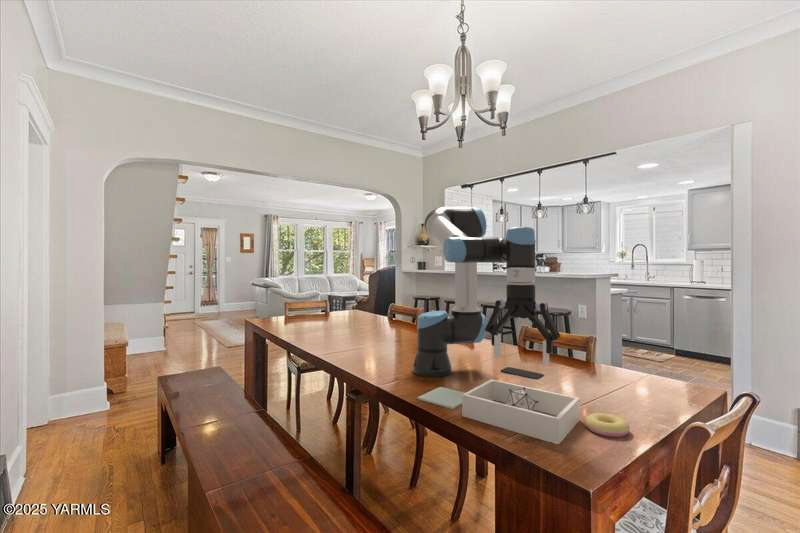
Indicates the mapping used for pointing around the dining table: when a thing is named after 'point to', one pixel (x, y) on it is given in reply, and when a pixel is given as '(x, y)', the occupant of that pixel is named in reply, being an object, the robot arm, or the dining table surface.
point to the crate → (523, 410)
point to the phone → (522, 373)
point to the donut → (607, 425)
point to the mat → (443, 397)
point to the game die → (521, 399)
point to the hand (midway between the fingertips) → (520, 361)
